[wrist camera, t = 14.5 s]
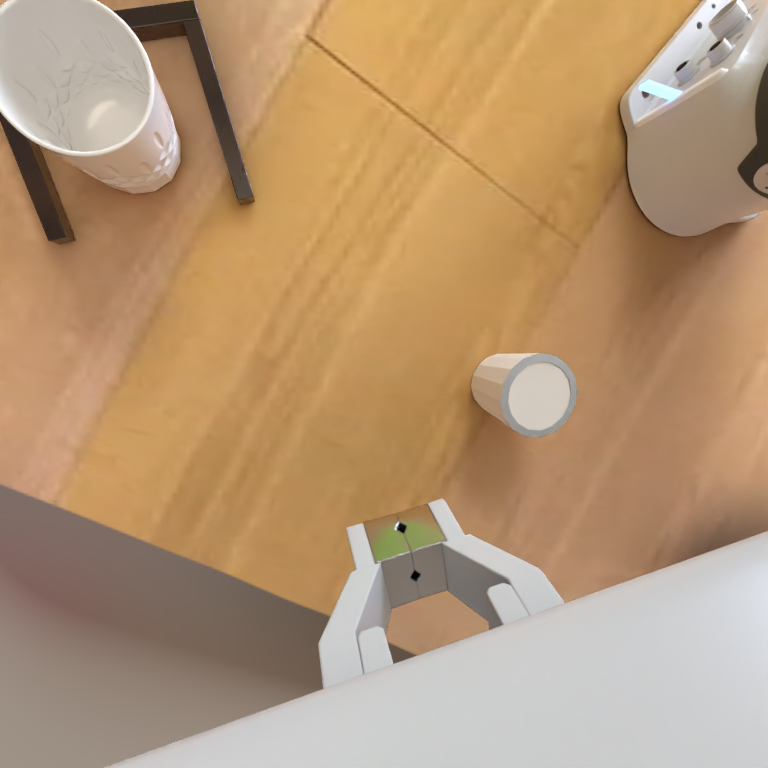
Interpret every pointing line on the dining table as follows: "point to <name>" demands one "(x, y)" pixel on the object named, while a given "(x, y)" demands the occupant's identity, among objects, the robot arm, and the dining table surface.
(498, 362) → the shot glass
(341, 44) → the dining table surface
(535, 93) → the dining table surface
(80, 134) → the white cup
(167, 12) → the walnut frame
